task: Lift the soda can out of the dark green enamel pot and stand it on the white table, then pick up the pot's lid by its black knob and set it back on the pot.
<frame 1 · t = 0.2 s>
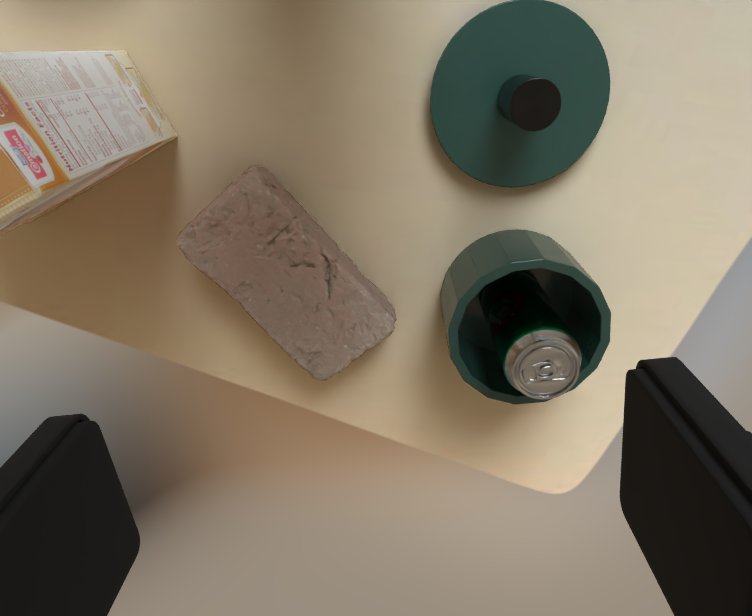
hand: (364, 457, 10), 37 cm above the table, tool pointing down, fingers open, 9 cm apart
coffeecake box: (74, 140, 44), on the table
brick: (298, 267, 48), on the table
pot lid: (518, 98, 42), point 1 cm above the table
soda can: (510, 296, 49), resting on pot
pot: (510, 296, 49), on the table
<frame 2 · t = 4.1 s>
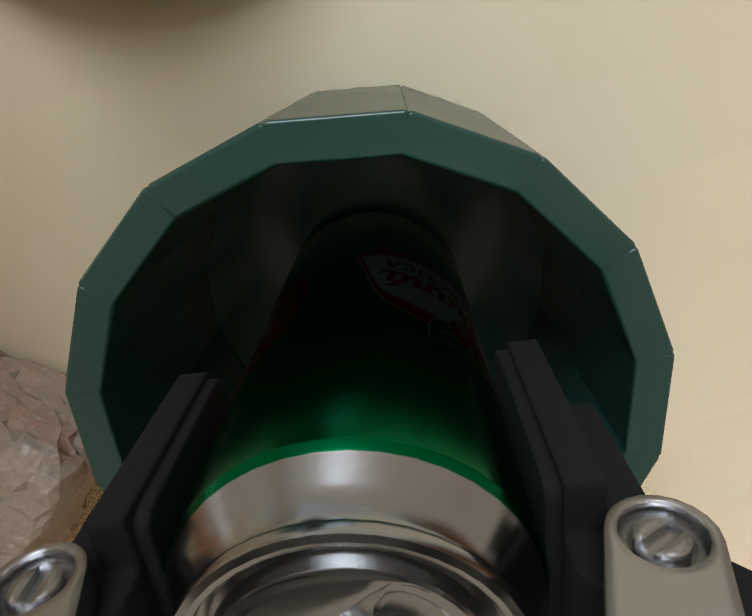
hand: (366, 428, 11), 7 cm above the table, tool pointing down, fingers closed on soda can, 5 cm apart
soda can: (374, 286, 18), resting on pot, touching gripper
pot: (375, 285, 18), on the table
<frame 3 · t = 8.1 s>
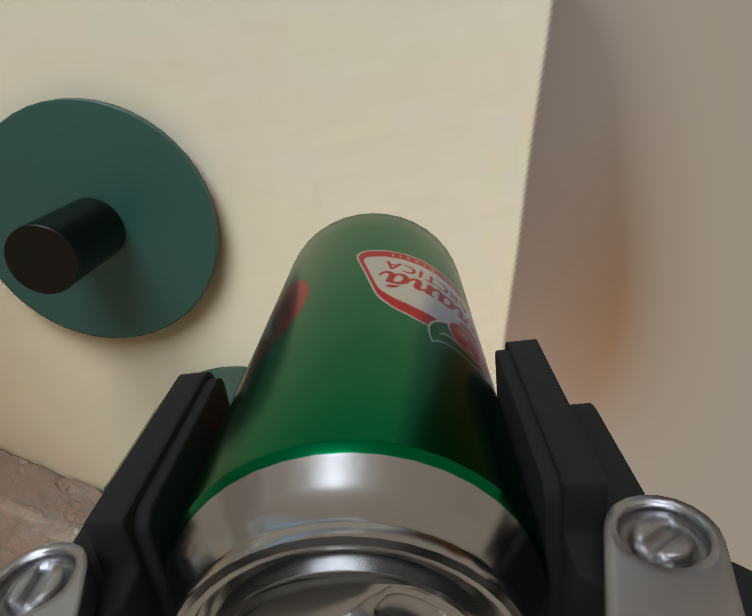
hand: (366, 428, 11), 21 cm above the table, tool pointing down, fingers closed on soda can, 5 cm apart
pot lid: (98, 225, 30), point 1 cm above the table
soda can: (375, 287, 18), point 13 cm above the table, touching gripper
pot: (244, 446, 37), on the table
when the fingers open (7 cm above the table, at t = 12.1 s): soda can stays where it is, on the table.
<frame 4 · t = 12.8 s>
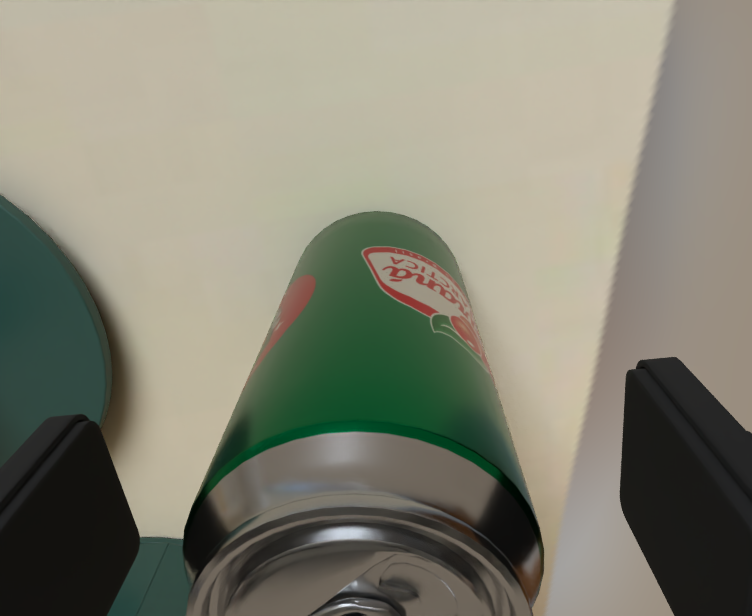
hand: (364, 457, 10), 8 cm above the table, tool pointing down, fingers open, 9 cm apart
soda can: (378, 284, 18), on the table
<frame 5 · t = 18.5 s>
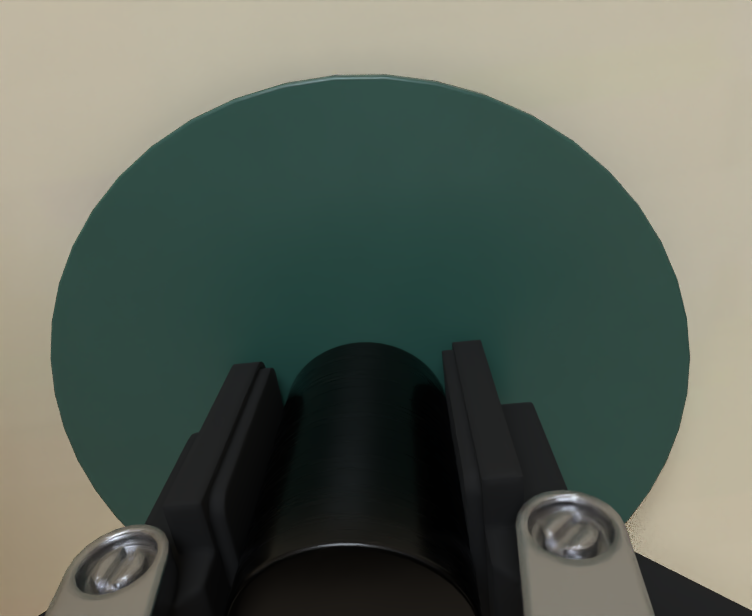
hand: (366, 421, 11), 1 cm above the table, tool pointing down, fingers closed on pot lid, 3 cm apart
pot lid: (368, 398, 12), point 1 cm above the table, touching gripper
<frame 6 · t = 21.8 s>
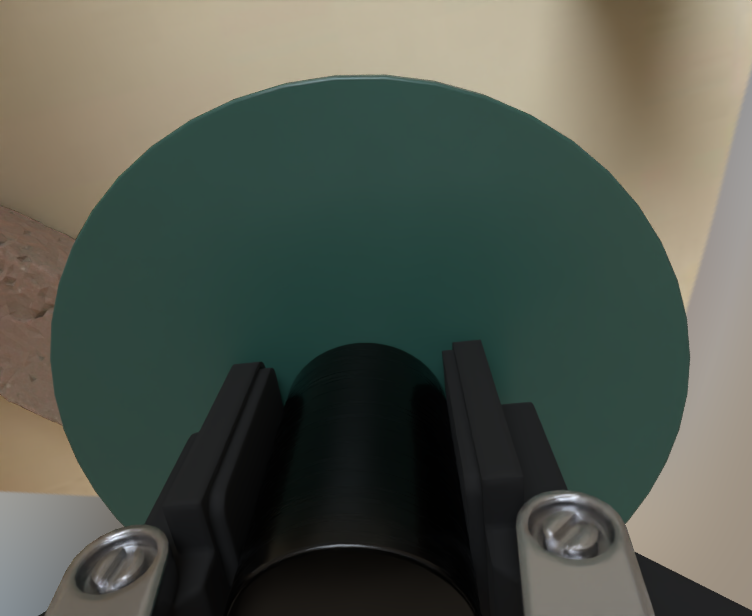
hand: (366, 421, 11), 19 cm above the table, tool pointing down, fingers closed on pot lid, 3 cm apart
brick: (91, 311, 32), on the table
pot lid: (367, 399, 12), point 19 cm above the table, touching gripper
when the fingers open (8 cm above the table, at t = 24.9 s): pot lid stays where it is, resting on pot.
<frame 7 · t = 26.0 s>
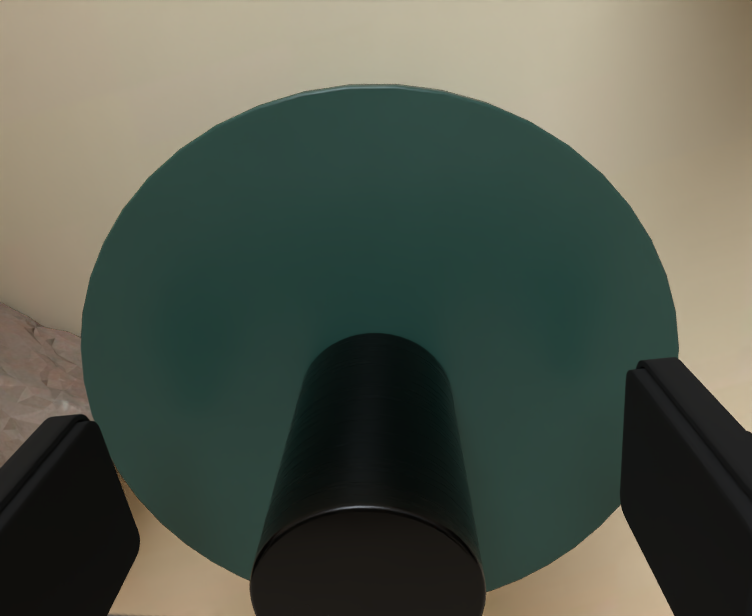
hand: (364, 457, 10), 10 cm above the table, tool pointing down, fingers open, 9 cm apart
pot lid: (376, 387, 13), point 7 cm above the table, touching pot
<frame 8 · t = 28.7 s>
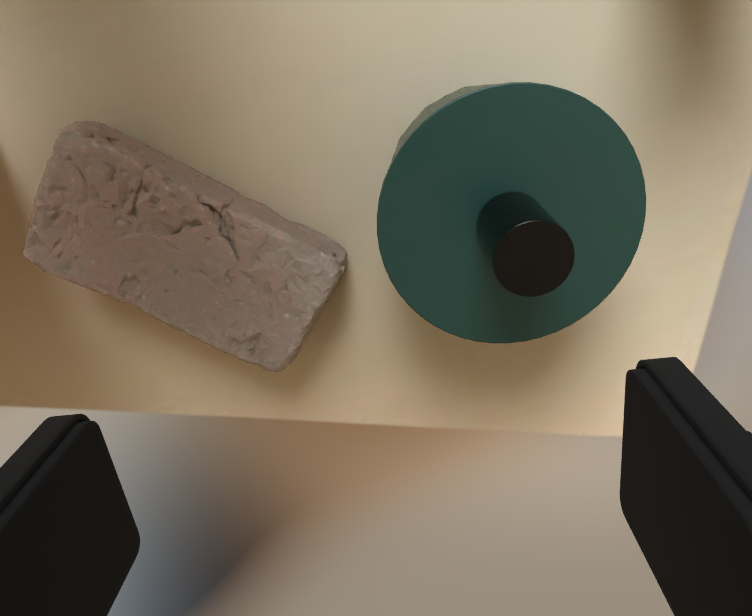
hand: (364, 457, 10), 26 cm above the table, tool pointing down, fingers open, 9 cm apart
brick: (206, 238, 37), on the table
pot lid: (508, 222, 28), point 7 cm above the table, touching pot
pot: (484, 187, 35), on the table
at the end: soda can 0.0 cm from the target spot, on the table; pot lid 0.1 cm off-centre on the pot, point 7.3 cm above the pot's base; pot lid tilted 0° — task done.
